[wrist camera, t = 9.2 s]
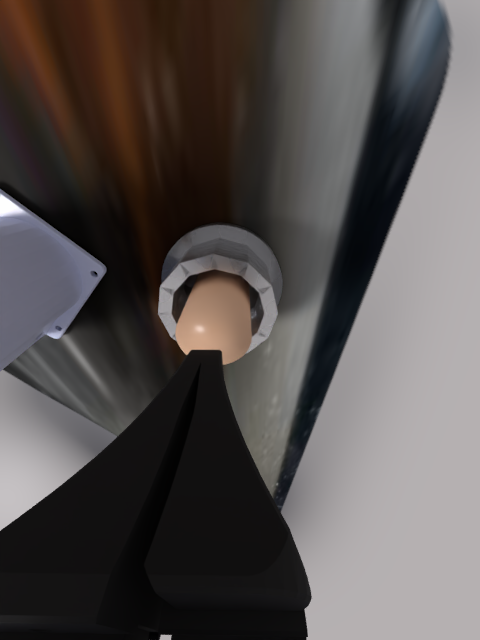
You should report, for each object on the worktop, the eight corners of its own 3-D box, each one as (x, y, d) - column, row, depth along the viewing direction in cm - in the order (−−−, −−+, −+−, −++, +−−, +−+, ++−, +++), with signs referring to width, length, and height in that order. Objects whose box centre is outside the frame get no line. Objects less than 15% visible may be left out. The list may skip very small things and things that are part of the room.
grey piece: (226, 346, 21) (222, 383, 17) (142, 283, 18) (116, 313, 14) (304, 283, 18) (320, 313, 14) (218, 190, 14) (209, 197, 10)
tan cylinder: (224, 319, 18) (217, 375, 13) (184, 289, 17) (160, 338, 12) (260, 287, 17) (267, 337, 12) (219, 250, 15) (208, 288, 10)
